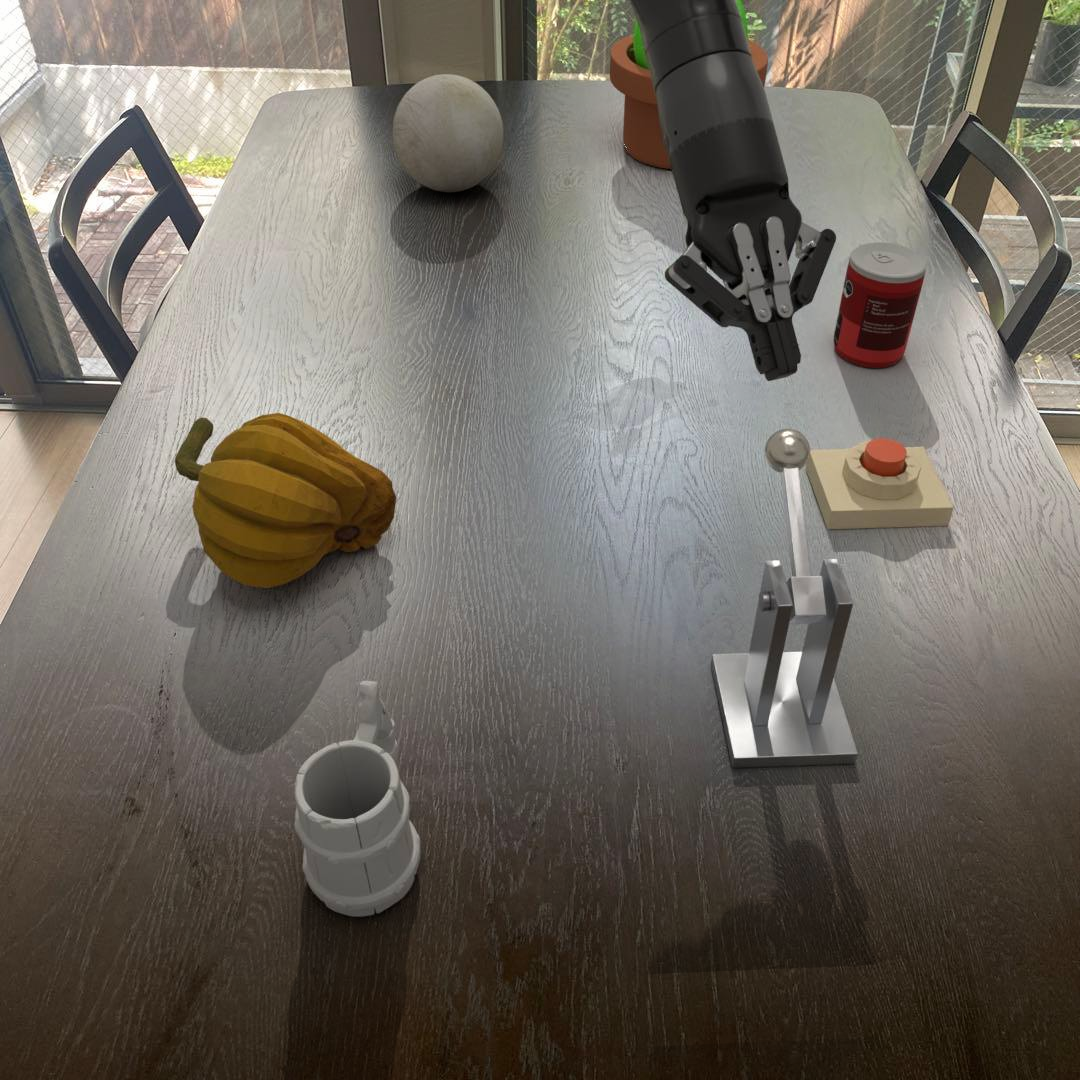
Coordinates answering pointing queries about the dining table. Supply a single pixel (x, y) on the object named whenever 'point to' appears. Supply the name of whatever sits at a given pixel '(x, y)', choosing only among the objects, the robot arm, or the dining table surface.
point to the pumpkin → (281, 498)
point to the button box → (877, 491)
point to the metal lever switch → (787, 682)
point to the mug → (357, 817)
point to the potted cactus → (652, 95)
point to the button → (884, 457)
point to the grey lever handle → (796, 525)
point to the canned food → (878, 304)
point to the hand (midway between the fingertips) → (782, 376)
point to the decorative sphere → (448, 133)
